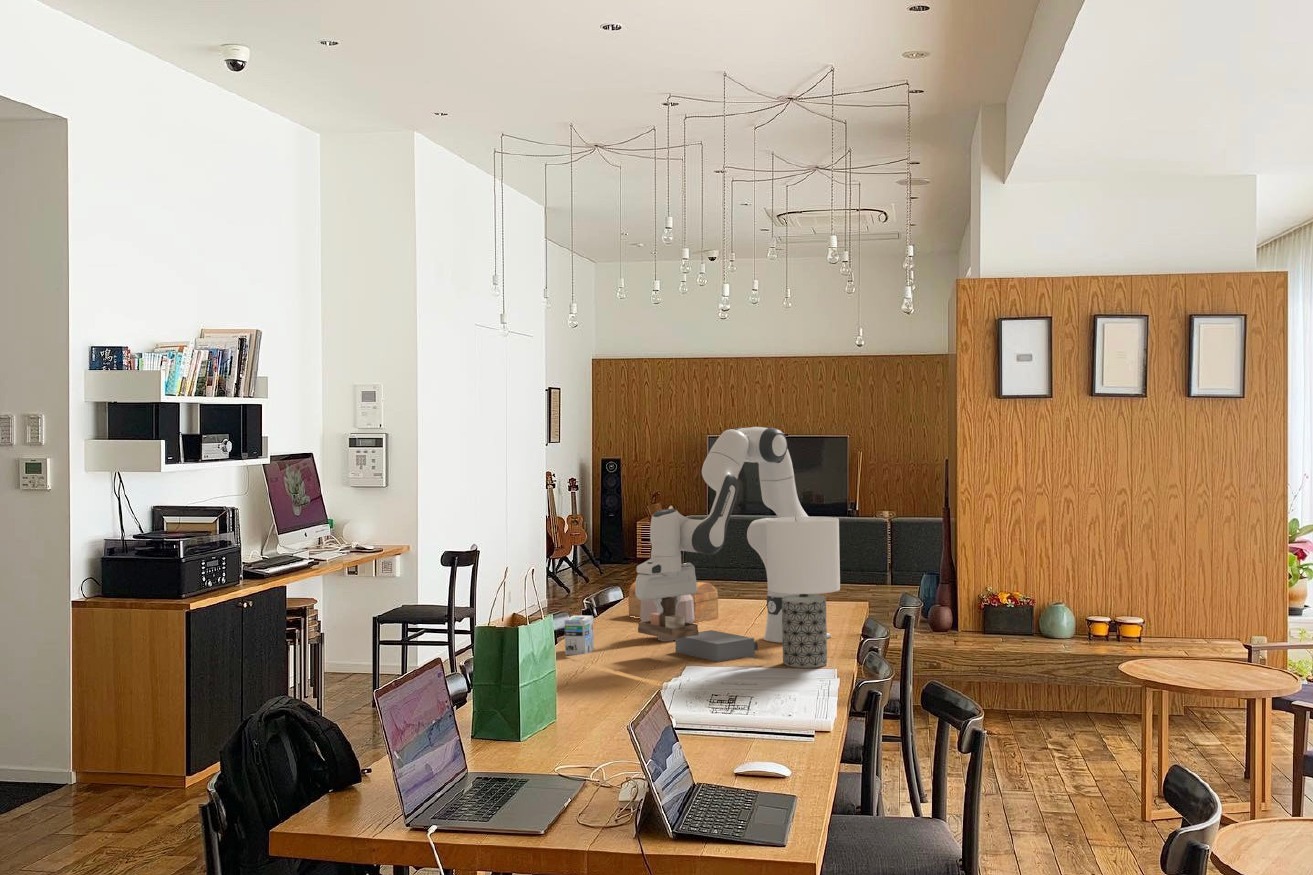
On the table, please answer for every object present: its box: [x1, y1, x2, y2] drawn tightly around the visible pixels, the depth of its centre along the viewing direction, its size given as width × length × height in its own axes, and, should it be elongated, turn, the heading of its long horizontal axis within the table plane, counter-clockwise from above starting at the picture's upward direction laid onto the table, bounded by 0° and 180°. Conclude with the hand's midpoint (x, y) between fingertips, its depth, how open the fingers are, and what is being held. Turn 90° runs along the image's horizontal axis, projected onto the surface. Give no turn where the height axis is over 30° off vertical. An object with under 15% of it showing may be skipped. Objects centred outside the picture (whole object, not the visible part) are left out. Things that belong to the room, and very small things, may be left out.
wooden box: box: [628, 581, 719, 624], centre depth 428 cm, size 30×16×14 cm, turn 52°
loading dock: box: [675, 629, 759, 663], centre depth 350 cm, size 15×20×6 cm
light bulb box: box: [564, 614, 595, 656], centre depth 362 cm, size 11×7×11 cm, turn 168°
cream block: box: [665, 615, 685, 628], centre depth 339 cm, size 4×4×4 cm
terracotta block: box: [650, 613, 660, 626], centre depth 345 cm, size 4×4×4 cm
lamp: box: [766, 516, 841, 669], centre depth 336 cm, size 21×21×42 cm
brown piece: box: [637, 597, 699, 639], centre depth 342 cm, size 10×16×10 cm, turn 36°
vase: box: [640, 594, 695, 642], centre depth 382 cm, size 18×18×30 cm
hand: (667, 612), depth 342 cm, fingers closed on brown piece, 3 cm apart
